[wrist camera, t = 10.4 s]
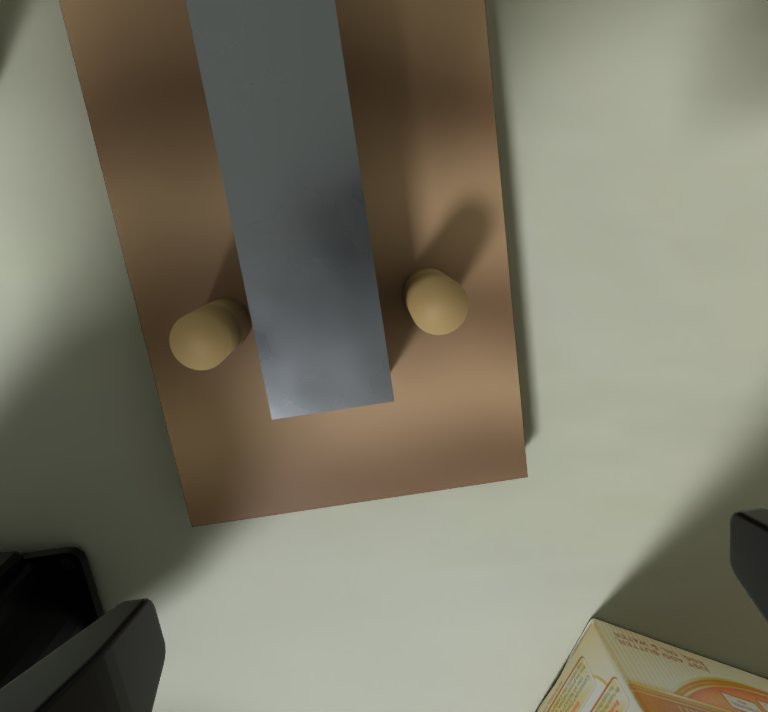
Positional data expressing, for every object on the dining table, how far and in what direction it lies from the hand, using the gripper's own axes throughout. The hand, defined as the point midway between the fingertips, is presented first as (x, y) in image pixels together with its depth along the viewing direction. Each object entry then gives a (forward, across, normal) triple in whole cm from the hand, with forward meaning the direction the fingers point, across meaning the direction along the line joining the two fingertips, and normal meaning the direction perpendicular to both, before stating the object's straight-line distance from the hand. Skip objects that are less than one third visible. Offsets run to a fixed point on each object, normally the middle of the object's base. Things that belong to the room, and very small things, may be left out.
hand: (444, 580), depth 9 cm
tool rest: (+12, +2, -9) cm, 15 cm away
